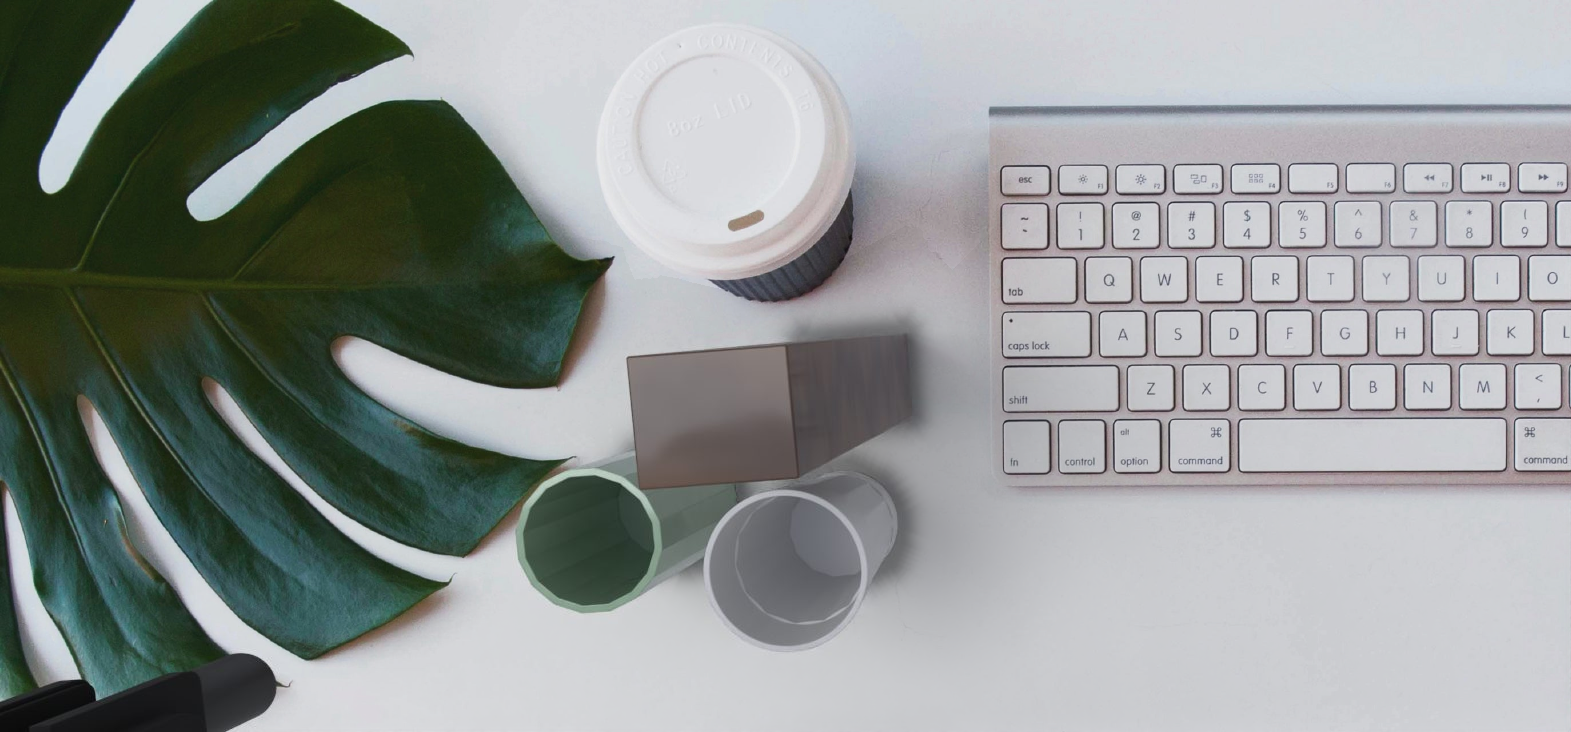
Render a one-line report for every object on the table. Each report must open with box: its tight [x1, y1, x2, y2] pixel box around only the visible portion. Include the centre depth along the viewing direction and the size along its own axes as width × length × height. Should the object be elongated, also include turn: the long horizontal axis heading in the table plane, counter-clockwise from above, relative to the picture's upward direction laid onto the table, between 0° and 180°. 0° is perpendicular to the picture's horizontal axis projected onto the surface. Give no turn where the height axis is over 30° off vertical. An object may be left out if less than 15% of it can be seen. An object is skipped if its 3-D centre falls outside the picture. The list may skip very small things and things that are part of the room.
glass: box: [515, 449, 738, 614], centre depth 59 cm, size 7×7×11 cm
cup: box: [703, 470, 899, 653], centre depth 58 cm, size 8×8×12 cm
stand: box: [625, 332, 914, 490], centre depth 52 cm, size 5×6×24 cm
